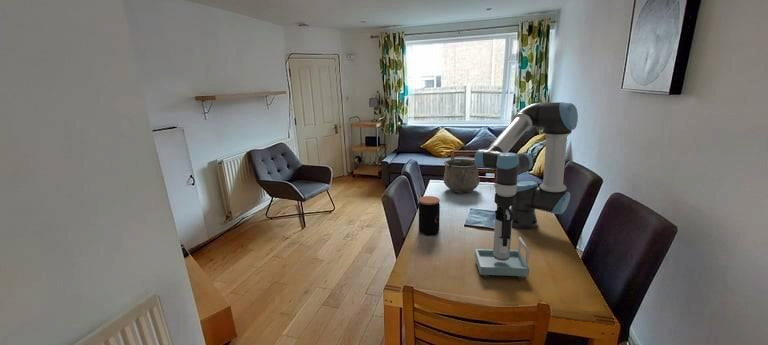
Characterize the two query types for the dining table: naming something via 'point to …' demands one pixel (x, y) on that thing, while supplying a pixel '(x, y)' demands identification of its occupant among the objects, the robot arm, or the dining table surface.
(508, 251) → the travel mug
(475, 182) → the pot
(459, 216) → the dining table surface
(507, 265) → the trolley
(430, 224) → the coffee jar
